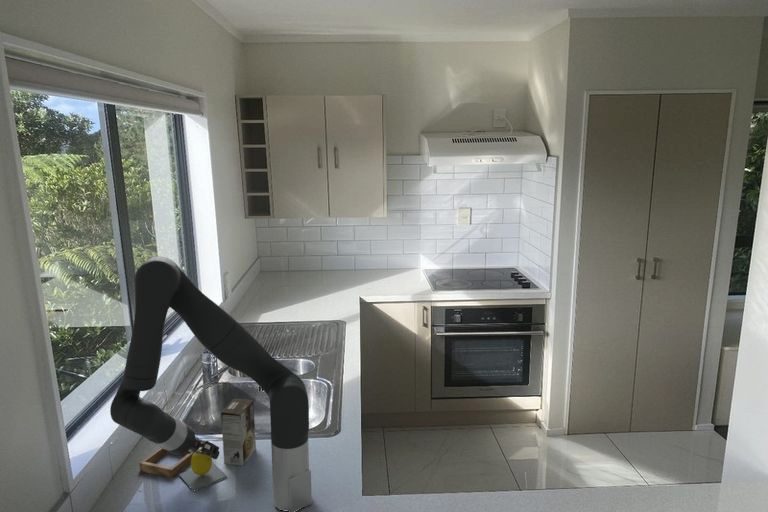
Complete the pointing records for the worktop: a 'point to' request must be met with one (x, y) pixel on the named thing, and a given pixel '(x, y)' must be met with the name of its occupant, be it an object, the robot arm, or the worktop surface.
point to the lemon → (201, 463)
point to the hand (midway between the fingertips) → (203, 452)
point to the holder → (161, 470)
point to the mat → (203, 477)
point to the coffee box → (238, 431)
